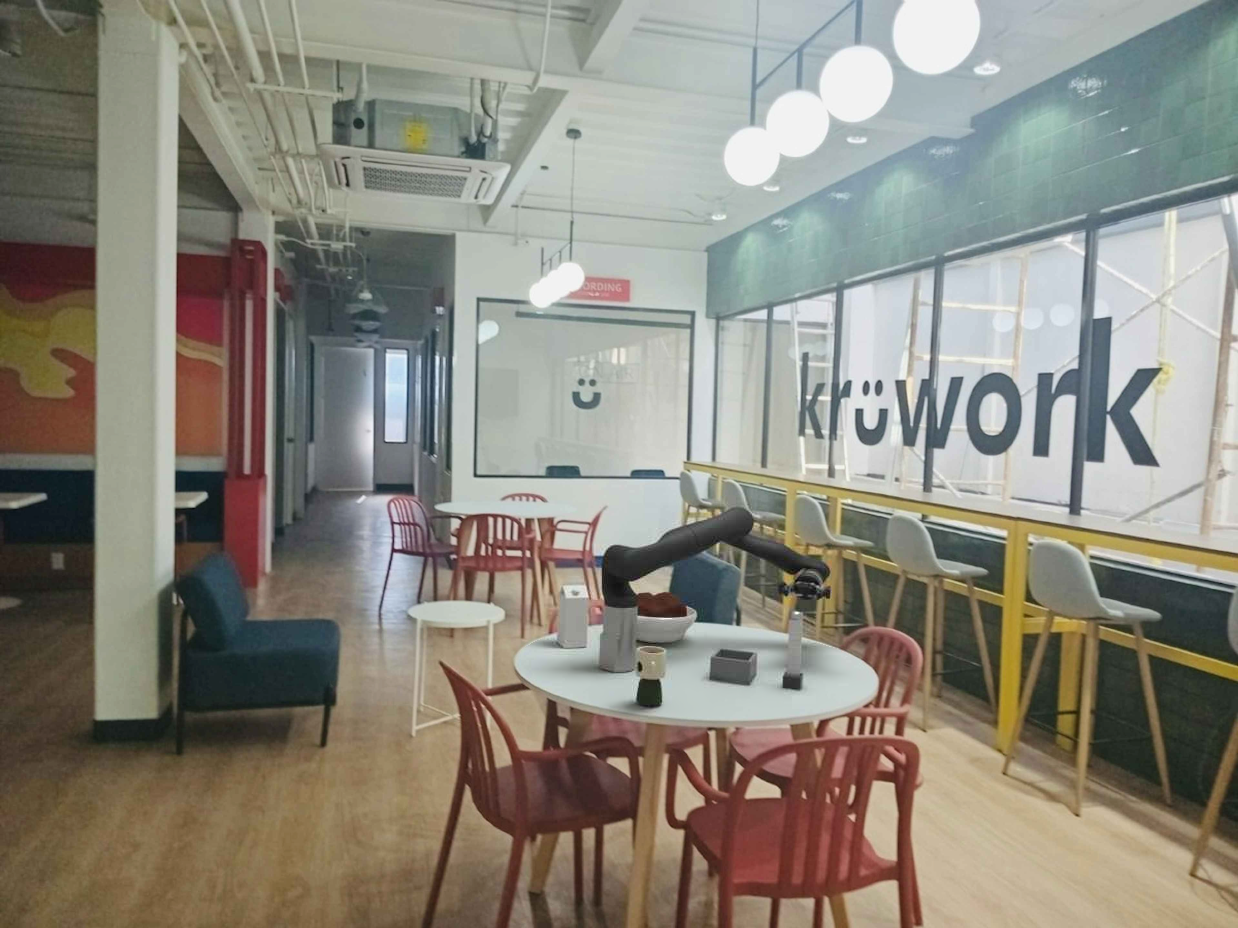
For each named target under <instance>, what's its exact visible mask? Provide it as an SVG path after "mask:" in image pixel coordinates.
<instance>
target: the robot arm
mask: <svg viewBox="0 0 1238 928" xmlns="http://www.w3.org/2000/svg"><path fill="white" fill-rule="evenodd" d="M754 525H755V518H754V516H753V514H752V513H751V512H750V510H748V509H746V508H744V507H739V506H735V507H731V508H729V509H727V510H726V511H724V512H722V513H720V514H718V515H716V516H712V517H711V518H706V519H703V520H702V519H701V520H699V521H695V522H691V523H687V524H685V525H684V524H683V525H681V526H678V527H676V528H672V529H670V530H668V531H666V532H665V533H664V534H662V535H661V537H660V538H659V539H658V540H657V541H656V542H654V543H652V544H651V543H650V544H648V545H645V546H640V547H639V546H638V547H632V546H627V545H623V544H613V545H610V546H609V547H608V548H607V549H606V550H605V552H604V554H603V556H602V559H601V594H602V596H603V603H604V604H603V618H602V619H603V621H602V632H601V633H600V635H599V637H600V638H599V653H598V654H599V657H598V669H602V670H605V671H609V672H612V673H614V674H615V673H622V672H623V673H626V672H631V671H634V670H636V652H637V639H636V636H637V615H638V596H637V594H638V593H636V592H635V591H634V590H633V588H632V586H631V584H630V582H635V581H638V580H640V579H642V578H644V577H646V576H648V575H650V574H651V573H654V572H655V571H658V570H659V569H663V568H664V567H668V566H670V565H673V564H676V563H679V562H682V561H685V560H688V559H690V558H692V557H696V556H698V555H699V554H701V553H703V552H706V551H707V550H710V548H713V547H714V546H715V545H717V544H719V543H720V542H722V543H725V544H726V545H729V546H731V547H733V548H736V549H739V550H741V551H743V552H745V553H748V554H751V555H753V556H755V557H757V558H760V559H762V560H764V561H766V562H768V563H770V564H771V565H772V566H774V567H776V568H778V569H779V570H781V571H783V572H784V573H786V574H788V575H790V576H794V575H796V574H798V573H800V572H801V571H802V572H801V573H800V574H799V575H798V576H797V577H796V578H795V580H794V582H791V583H789V584H787V582H786V581H781V582H780V583H779V584H778V585H777V586H778V587H777V594H778V595H783V596H784V598H785V597H786V598H788V596H791V597H792V596H793V597H797V598H799V599H800V600H803V601H812V600H814V599H816V600H817V601H820V599H824V597H825V599H827V600H828V599H829V600H830V599H831V589H832V587H831V586H830V585H826V586H824V587H823V585H824V584H825V582H826V581H827V579H828V578H829V577H830V574H831V569H830V567H829V565H828V564H827V563H826V562H824V561H822V560H820V559H817V558H814V557H813V558H812V557H809V556H806V555H804V554H803V555H802V554H800V553H799V552H798V551H795V550H794V549H792V548H790V546H787V545H785V544H783V543H781V542H778V541H774V540H770V539H766V538H763V537H762V538H761V537H758V536H755V535H752V534H751V531H752V530H753V528H754Z"/></svg>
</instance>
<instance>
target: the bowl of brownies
mask: <svg viewBox="0 0 1238 928" xmlns="http://www.w3.org/2000/svg"><path fill="white" fill-rule="evenodd" d="M636 594H637V596H638V615H637V636H636V641H637V640H638V641H641V642H647V643H651V644H664V643H672V642H677V641H680V640H682V639H683V638H684V637H685V635H686V633H687V631H688V629H689V628H690V627H692V625H694V622H695V621H696V619H697V617H698V613H697V611H696V610H695V609H694V608H692V607H689V606H687V605H684V604H682V602H680V599H679V597H678V596H677V595H675V594H671V593H670V592H668V591H662V592H658V593H656V594H654V595H653V594H652V592H639V593H636Z"/></svg>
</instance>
